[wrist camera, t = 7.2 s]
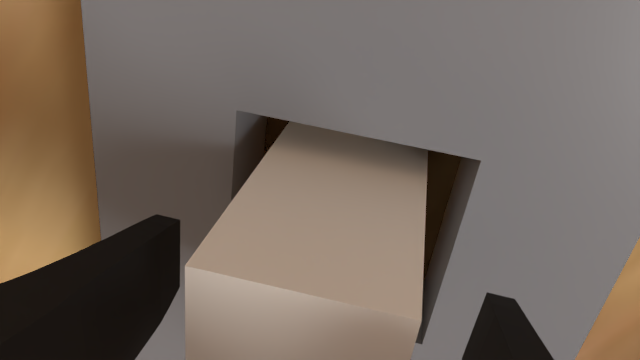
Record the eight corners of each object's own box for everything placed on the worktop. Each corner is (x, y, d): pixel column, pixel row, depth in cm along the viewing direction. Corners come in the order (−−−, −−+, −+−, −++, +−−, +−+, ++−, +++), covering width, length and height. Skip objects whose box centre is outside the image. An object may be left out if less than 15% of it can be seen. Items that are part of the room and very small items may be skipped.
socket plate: (498, 407, 19) (508, 484, 17) (153, 318, 21) (112, 375, 18) (708, -51, 12) (787, -42, 9) (140, -138, 13) (68, -151, 11)
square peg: (402, 244, 17) (378, 472, 10) (286, 219, 17) (185, 420, 10) (428, 134, 15) (421, 320, 8) (297, 109, 16) (184, 266, 9)
